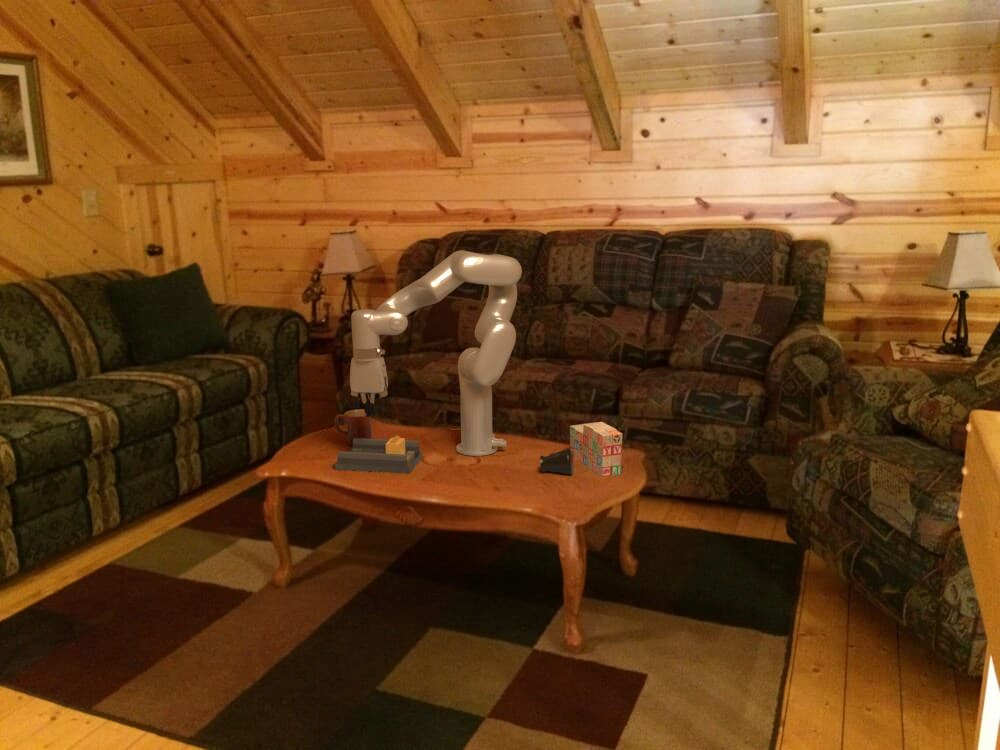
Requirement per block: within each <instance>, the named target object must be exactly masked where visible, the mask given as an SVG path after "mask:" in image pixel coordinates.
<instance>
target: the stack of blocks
mask: <svg viewBox="0 0 1000 750" xmlns="http://www.w3.org/2000/svg"><path fill="white" fill-rule="evenodd" d="M569 446H570V447H569V448H570V449H571V451H572V455H573V459H576V460H577V461H578V462H579V463H581V464H583V465H584V466H585V467H586V468H588V469H590V471H592V472H594V473H595V474H596V475H598V476H599V477H601V478H604V477H605V478H607V477H613V476H620V475H622V454H623V433H622V432H620V431H619V430H617V429H616V428H615V427H613V426H610V425H608V424H607V423H606V422H603V421H598V422H597V421H596V422H590V423H589V422H588V423H581V424H573V425H570V426H569Z"/></svg>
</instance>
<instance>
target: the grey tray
mask: <svg viewBox="0 0 1000 750" xmlns="http://www.w3.org/2000/svg"><path fill="white" fill-rule="evenodd" d="M389 440H390V439H385V438H384V439H383V438H382V439H381V438H372V439H364V438H354V439H353V446H352V448H364V449H385V450H386V443H387V442H388V441H389ZM405 450H406V451H415V453H418V452H420V441H419V440H407V439H405ZM337 461H338V464H351V465H370V466H390V467H406V466H407V455H403V454H383V453H362V452H348V451H341V450H340V451H338V452H337Z"/></svg>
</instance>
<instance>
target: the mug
mask: <svg viewBox="0 0 1000 750" xmlns="http://www.w3.org/2000/svg"><path fill="white" fill-rule="evenodd" d="M372 418H373V416H372V417H370V416H369V417H366V413H365V412H364V409H361V408H360V409H351V410H347V411H345V412H344V414H338V415H336V416H335V418H334V426H335V428H336V430H337V432H339V433H340V434H341V435H344V436H347V441H348V442H347V443H348V444H349V446H352V447H353V439H354V438H364V439H373V435H372V434H373V432H372ZM339 419H344V420H345V421H346V425H347V427H346V430H343V429H342V428H341V427H340V425H339Z"/></svg>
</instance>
